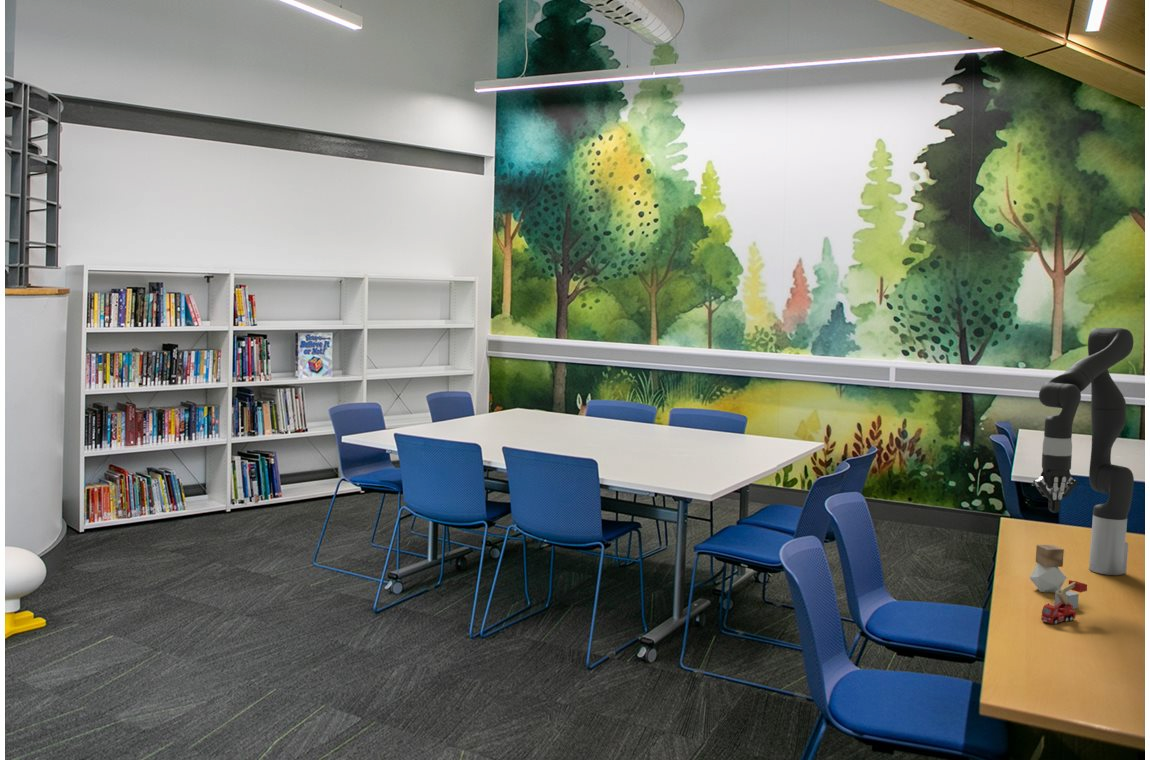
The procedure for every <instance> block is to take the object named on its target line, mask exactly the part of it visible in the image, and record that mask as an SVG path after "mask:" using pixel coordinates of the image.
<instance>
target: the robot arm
mask: <svg viewBox="0 0 1150 760" xmlns="http://www.w3.org/2000/svg"><path fill="white" fill-rule="evenodd" d="M1133 348H1134V337H1133V333H1132V332H1131V330H1129V329H1127V328H1122V327H1096V328H1095V327H1094V328H1093V329H1092V330H1091V331H1089V334H1088V339H1087V354H1088V356H1086V357H1083V358H1081V359H1079V360H1077V361H1076V362H1074V363H1073V364H1072V365H1071V366H1070V367H1068V369H1066V370H1065V372H1063V373H1061V374H1059V375H1057V376H1055V377H1052V378H1050V380H1047V381H1046V382H1045V383H1044V384H1043V385H1042V386H1041V387H1040V390H1039V393H1038V399H1039V402H1040V403H1041V404H1042V405H1044V407H1048V408H1057V409H1058V408H1059V409H1061V411H1060V413H1059V414H1058V415H1057V414H1056V415H1049V416H1046V418H1045V420H1044V428H1043V429H1044V430H1043V431H1044V432H1043V435H1044V436H1043V441H1042V453H1041V468H1042V471H1041V473H1040V477H1039V478H1038V479H1034V480H1033V482H1032V483H1033V485H1034V486H1035V487H1036V490H1038V492H1039V493H1040V494H1041V496H1042V497H1045V498H1047V499H1048V504H1047V505H1048V506H1047V508H1048V511H1049V512H1050V513H1053V514H1054V513H1059V512H1060V510H1061V504H1062V502H1061V501H1062V499H1064V498H1068V497H1069V495H1070V494H1071V493H1072V491H1073V490H1074V489H1075V487H1077V485H1078V483H1079V480H1078V479H1074V478H1073V477H1072V474H1071V472H1070V470H1071V469H1072V456H1073V441H1072V437H1073V436H1072V434H1073V423H1074V421H1075V417H1076V413H1077V410H1078V409H1079V408H1078V407H1079V406H1080V403H1081V398H1082V393H1081V392H1083V391H1084V390H1085V389H1086V388H1088V387H1089V386H1091V387H1090V388H1091V389H1090V391H1091V395H1090V396H1091V398H1090V399H1091V401H1090V404H1091V405H1090V415H1091V419H1090V420H1091V450H1090V451H1091V452H1090V461H1089V471H1088V472H1089V473H1088V475H1089V477H1088V480H1089V485H1090V487H1091V488H1092V490H1094V491H1095V492H1097V493H1102V494H1106V495H1108V499H1107V501H1106V502H1105V503H1099V504H1098V503H1097V504H1095V505H1094V506H1093V509H1092V524H1091V537H1090V538H1091V539H1090V551H1089V562H1088V563H1089V564H1088V569H1089V570H1090V571H1091V572H1093V573H1096V574H1101V575H1107V576H1108V575H1109V576H1121V575H1123V574H1127V570H1128V569H1127V568H1128V566H1127V565H1128V556H1129V555H1128V553H1129V542H1127V541H1126V540H1127V539H1126V538H1127V526H1128V514H1129V512H1130V509H1131V506H1132V499H1133V492H1134V486H1135V484H1134V483H1135V477H1134V473H1133V472H1132V470H1131V469H1130V468H1129V467H1126V466H1123V465H1117V464H1112V462H1111V461H1112V460H1111V456H1112V455H1111V454H1112V448H1113V446H1114V443H1115V442H1116V441H1117V439H1118V437H1119V436H1120V435H1121V433H1122V431H1123V430H1124V427H1125V426H1126V423H1127V402H1126V400H1125V396H1124V394H1123V393H1122V391H1121V390H1120V389H1119V387H1118V385H1117V384H1116V383H1115V381H1114V380H1113V378H1112V376H1111V374H1110V372H1109V369H1110V368H1112V367H1113V366H1115V365H1116V364H1117V363H1120V362H1121V361H1123V360H1125V359H1126V358H1127V357H1128V356H1129V355H1130V354H1131V352H1132V351H1133ZM1090 384H1091V385H1090Z"/></svg>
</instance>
